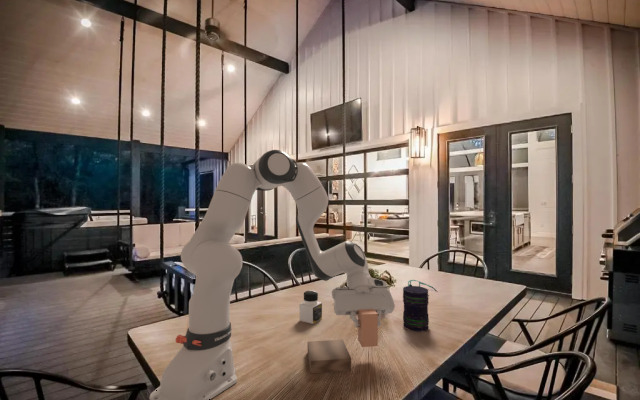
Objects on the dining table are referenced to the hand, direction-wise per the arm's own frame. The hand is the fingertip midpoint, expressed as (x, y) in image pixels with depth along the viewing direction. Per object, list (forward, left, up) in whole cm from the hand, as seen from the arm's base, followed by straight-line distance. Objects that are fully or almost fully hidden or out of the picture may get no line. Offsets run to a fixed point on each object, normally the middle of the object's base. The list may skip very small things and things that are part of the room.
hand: (368, 326), depth 92 cm
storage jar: (+32, -12, -11) cm, 36 cm away
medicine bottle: (+22, +30, -11) cm, 39 cm away
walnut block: (-6, +12, -11) cm, 17 cm away
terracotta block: (0, 0, -5) cm, 5 cm away
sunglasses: (+84, -11, -11) cm, 85 cm away
